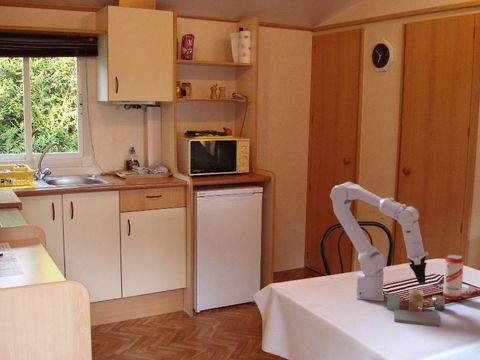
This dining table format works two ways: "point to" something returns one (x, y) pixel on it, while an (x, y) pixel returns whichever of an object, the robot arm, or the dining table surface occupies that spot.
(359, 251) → the robot arm
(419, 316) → the slate board
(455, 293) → the beer can
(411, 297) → the oak block
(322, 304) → the dining table surface
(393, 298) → the olive green cube
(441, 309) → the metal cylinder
